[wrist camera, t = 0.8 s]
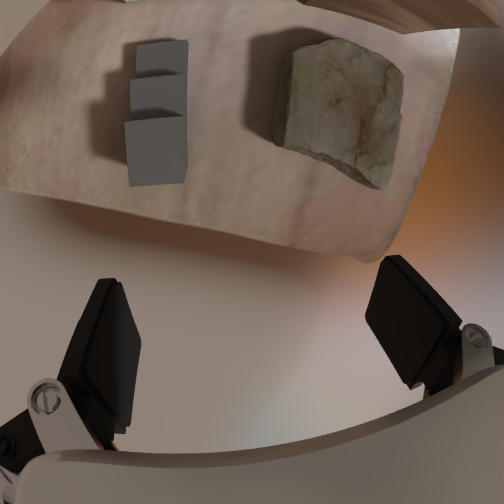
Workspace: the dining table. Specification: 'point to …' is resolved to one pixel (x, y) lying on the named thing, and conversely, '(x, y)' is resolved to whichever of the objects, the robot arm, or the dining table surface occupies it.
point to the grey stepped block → (158, 115)
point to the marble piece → (340, 109)
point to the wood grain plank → (416, 13)
